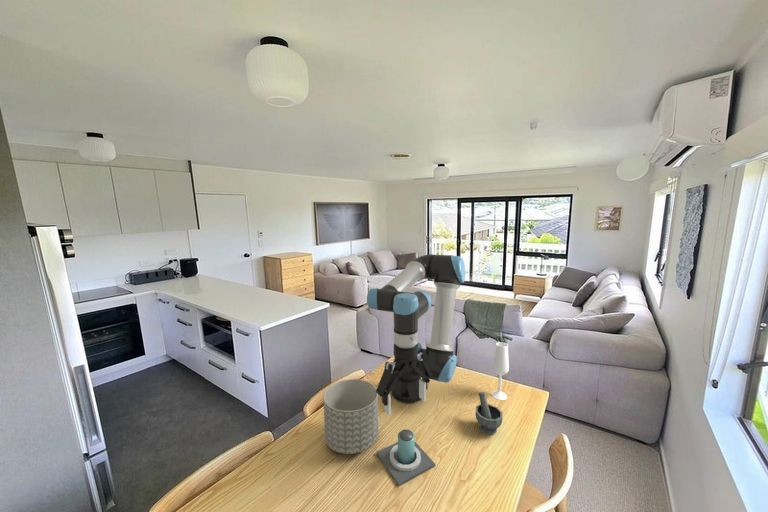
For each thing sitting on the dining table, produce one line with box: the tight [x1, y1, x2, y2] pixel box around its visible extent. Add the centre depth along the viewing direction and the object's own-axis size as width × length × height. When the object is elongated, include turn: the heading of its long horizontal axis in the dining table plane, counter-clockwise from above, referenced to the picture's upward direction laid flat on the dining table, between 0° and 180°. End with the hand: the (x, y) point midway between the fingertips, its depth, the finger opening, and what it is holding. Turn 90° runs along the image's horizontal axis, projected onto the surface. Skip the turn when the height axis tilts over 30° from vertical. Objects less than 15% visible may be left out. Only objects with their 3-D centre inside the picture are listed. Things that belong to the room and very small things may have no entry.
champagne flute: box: [490, 341, 510, 401], centre depth 130 cm, size 7×7×24 cm
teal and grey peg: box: [397, 428, 416, 465], centre depth 96 cm, size 6×6×9 cm
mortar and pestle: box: [475, 391, 503, 435], centre depth 111 cm, size 11×9×12 cm
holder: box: [376, 441, 436, 487], centre depth 97 cm, size 14×14×2 cm
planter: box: [323, 378, 379, 455], centre depth 104 cm, size 19×19×18 cm
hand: (405, 405), depth 94 cm, fingers open, 13 cm apart
